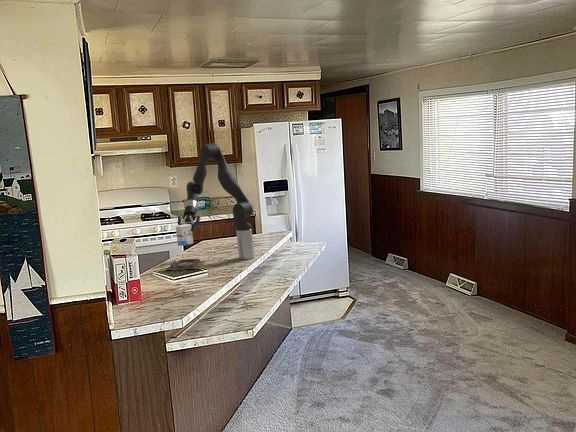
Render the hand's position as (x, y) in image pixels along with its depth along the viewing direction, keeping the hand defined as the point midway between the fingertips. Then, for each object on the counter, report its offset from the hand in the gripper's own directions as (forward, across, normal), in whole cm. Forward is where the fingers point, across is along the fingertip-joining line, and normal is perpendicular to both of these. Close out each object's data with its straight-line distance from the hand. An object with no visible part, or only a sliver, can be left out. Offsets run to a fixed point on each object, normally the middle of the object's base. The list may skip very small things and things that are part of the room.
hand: (186, 230), depth 319 cm
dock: (+25, +4, 0) cm, 25 cm away
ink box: (+7, -1, +4) cm, 8 cm away
